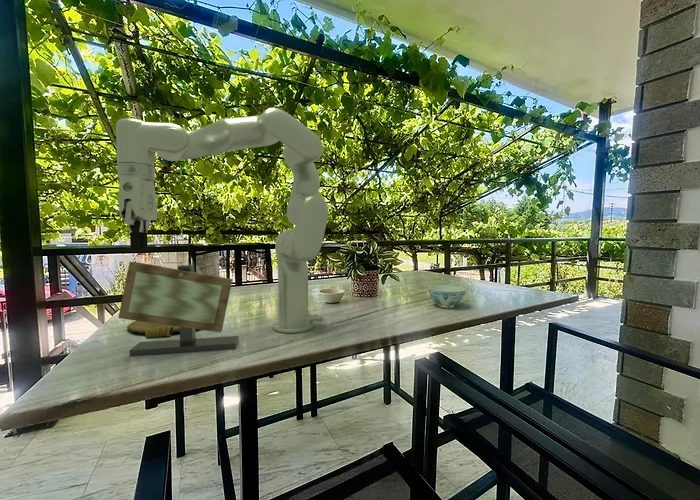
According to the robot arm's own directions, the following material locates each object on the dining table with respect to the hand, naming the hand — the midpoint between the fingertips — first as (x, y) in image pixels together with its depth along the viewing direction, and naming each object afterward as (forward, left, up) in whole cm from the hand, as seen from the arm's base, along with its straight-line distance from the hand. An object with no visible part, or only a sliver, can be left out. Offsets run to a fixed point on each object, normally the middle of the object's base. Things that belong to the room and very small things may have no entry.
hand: (139, 248), depth 78 cm
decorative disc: (0, -28, -27) cm, 39 cm away
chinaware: (-101, -33, -27) cm, 109 cm away
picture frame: (-7, 0, -19) cm, 21 cm away
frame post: (-10, -3, -27) cm, 29 cm away
